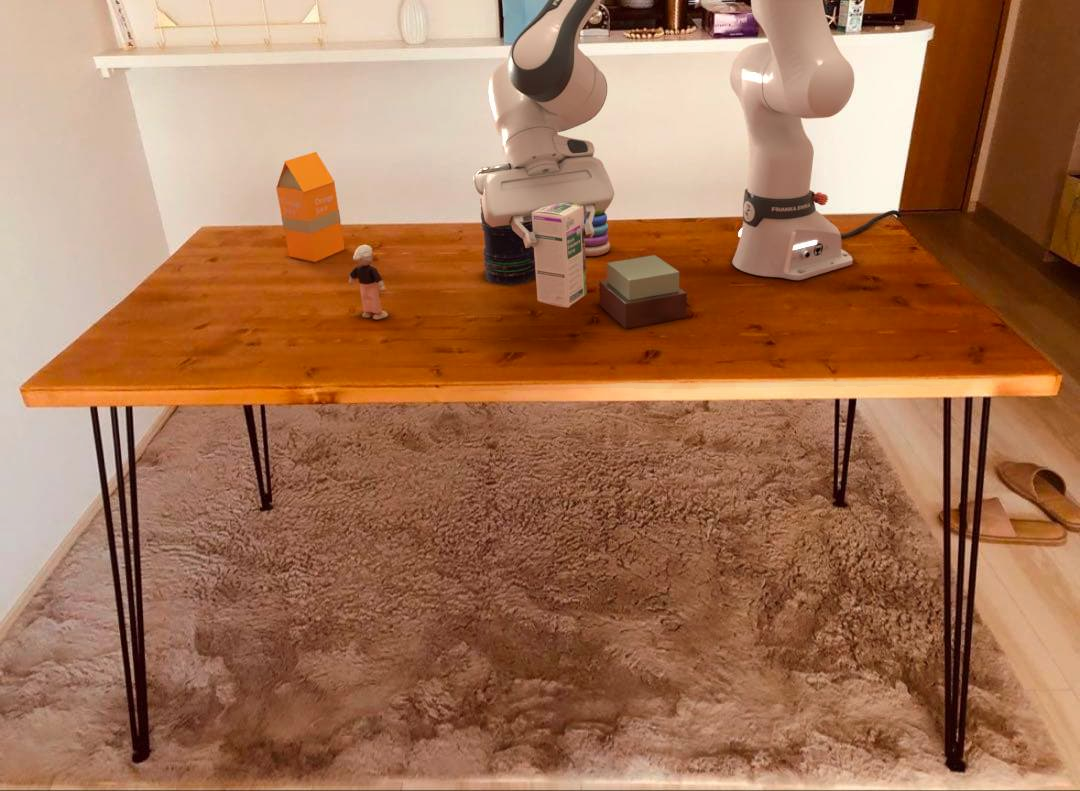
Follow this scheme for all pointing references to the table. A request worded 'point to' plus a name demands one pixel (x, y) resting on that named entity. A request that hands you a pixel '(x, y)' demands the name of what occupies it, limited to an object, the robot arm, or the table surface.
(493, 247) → the dark blue cylinder
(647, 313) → the base block
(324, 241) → the orange juice
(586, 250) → the stacking toy
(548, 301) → the syrup box
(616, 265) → the top block
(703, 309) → the table surface
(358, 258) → the grandmother figurine
